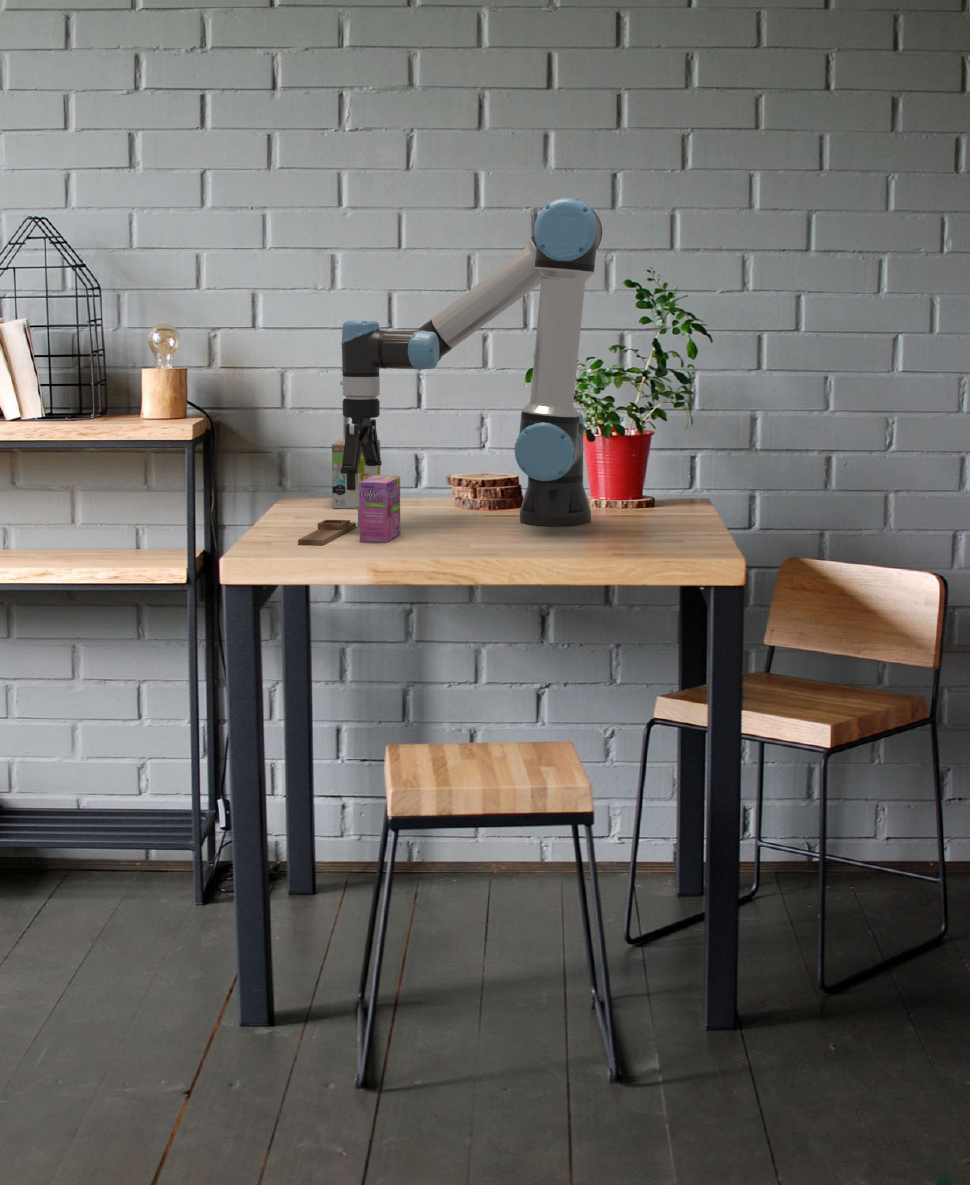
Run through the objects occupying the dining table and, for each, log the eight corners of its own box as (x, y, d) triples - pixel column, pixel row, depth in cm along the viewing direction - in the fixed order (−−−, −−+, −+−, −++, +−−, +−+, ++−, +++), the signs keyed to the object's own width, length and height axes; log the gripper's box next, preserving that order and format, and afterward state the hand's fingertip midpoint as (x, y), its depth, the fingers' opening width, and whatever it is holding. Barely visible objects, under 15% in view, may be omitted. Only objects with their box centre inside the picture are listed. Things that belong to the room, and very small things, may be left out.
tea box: (375, 509, 300) (374, 443, 297) (331, 509, 300) (329, 444, 297) (381, 500, 315) (380, 437, 312) (339, 500, 315) (337, 437, 312)
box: (387, 543, 255) (386, 482, 253) (359, 542, 256) (357, 481, 254) (401, 534, 265) (400, 475, 263) (374, 533, 266) (372, 475, 264)
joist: (356, 527, 274) (356, 516, 273) (323, 545, 253) (323, 534, 252) (332, 526, 275) (332, 516, 274) (297, 544, 254) (297, 533, 253)
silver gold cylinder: (373, 526, 276) (372, 473, 274) (369, 528, 273) (368, 475, 271) (359, 525, 276) (358, 473, 274) (355, 527, 273) (353, 474, 271)
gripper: (360, 393, 282) (361, 492, 286) (324, 401, 258) (326, 509, 262) (394, 394, 280) (395, 493, 285) (361, 402, 256) (362, 510, 261)
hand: (362, 501), depth 274 cm, fingers open, 13 cm apart
